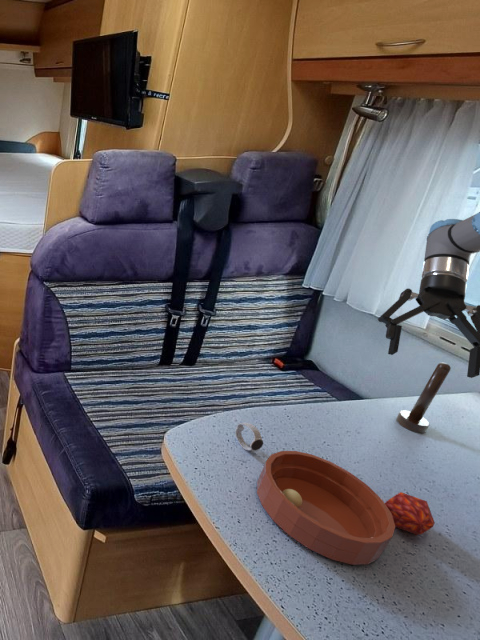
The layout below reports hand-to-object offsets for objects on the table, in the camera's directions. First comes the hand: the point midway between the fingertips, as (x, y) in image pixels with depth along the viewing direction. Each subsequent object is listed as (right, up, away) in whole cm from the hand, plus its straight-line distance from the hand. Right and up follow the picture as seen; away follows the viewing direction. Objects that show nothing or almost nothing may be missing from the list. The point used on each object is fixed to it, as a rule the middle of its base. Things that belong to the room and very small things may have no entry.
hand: (431, 364), depth 102 cm
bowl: (-43, -20, -23) cm, 53 cm away
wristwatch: (-47, -14, -9) cm, 50 cm away
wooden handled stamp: (-4, -14, +1) cm, 14 cm away
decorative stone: (-29, -22, -24) cm, 43 cm away
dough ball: (-47, -18, -23) cm, 55 cm away
